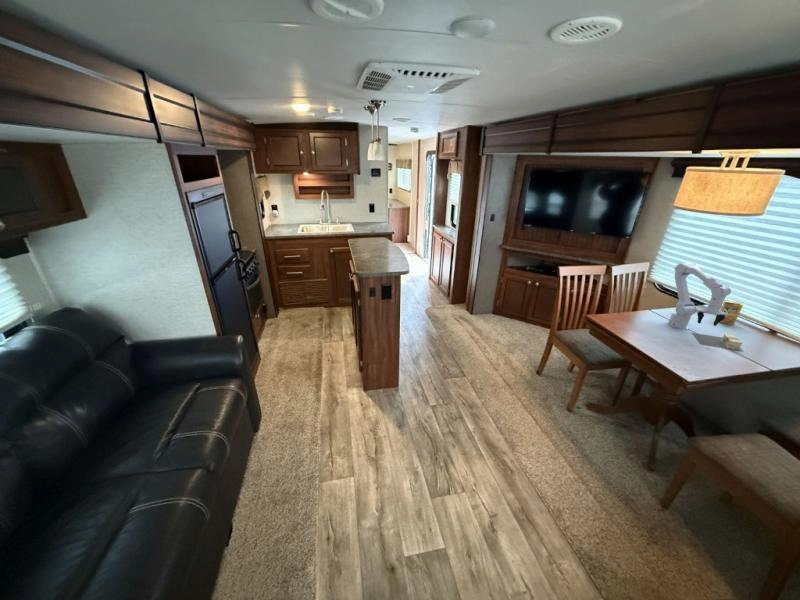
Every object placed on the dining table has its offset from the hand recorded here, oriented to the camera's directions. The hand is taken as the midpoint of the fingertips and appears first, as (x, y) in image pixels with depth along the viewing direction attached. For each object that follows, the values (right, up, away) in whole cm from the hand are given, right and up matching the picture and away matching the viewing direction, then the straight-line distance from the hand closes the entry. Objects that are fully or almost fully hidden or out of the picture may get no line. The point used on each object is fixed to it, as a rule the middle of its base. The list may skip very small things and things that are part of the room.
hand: (706, 324), depth 194 cm
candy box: (+34, 0, +21) cm, 40 cm away
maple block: (+8, -12, -6) cm, 16 cm away
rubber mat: (+4, -11, -2) cm, 12 cm away
